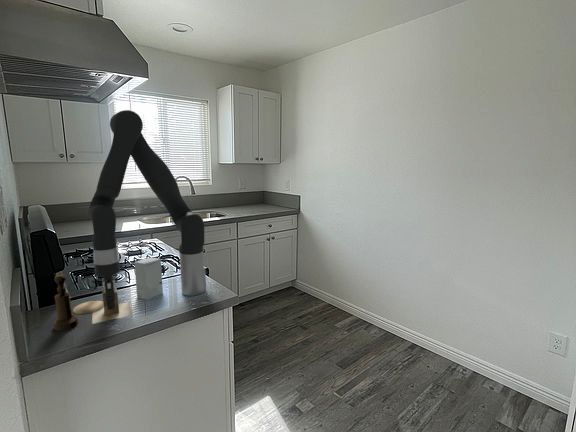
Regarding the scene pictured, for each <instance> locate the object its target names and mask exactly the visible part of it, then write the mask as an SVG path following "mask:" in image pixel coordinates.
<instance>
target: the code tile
mask: <svg viewBox="0 0 576 432" xmlns="http://www.w3.org/2000/svg"><path fill="white" fill-rule="evenodd" d="M118 305H119V313H118V314H113V315H108V316H105V314H104V307H103V308H102V309H100V310H98V311H96V312H93V313H91V314H92V315H91V316H92V318H91V324H92V325H94V324H99V323H102V322H106V321H112V320H116V319H120V318H125V317H129V316H132V314H133V313H132V309H131V305H130V302H129V301H127V302H121V303H118Z"/></svg>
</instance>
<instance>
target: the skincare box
mask: <svg viewBox="0 0 576 432" xmlns="http://www.w3.org/2000/svg"><path fill="white" fill-rule="evenodd" d="M133 263H134V273H135V288H136V297H137V298H138V299H141V300H144V301H147V300H149V299H153V298H155V297H157V296H159V295H162V294H163V293H164V290H163V276H162V275H163V272H162V260H161V258H157V257H148V258H144V259H140V260H137V261H134V262H133Z"/></svg>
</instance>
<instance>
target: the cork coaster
mask: <svg viewBox="0 0 576 432" xmlns="http://www.w3.org/2000/svg"><path fill="white" fill-rule="evenodd" d="M103 307H104V304H103V300H91V301H86V302H82V303H80V304H78V305H76V306H75V307H74V308H73V309H72V313H74V314H76V315H88V314H92V313H93V312H96V311H98V310H100V309H102V308H103Z"/></svg>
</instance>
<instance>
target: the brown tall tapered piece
mask: <svg viewBox="0 0 576 432" xmlns="http://www.w3.org/2000/svg"><path fill="white" fill-rule="evenodd" d="M66 280H67V278H66V275H65V274H63V273H59V274H56V275H55V277H54V282H55V283H56V284H57V288H56V290H57V292H58V293H57V294H55V295H54V300H55V308H56V313H57V314H56V315H57V318H56V320H55V319H54V321H53V328H54V331H56V332H65V331H69V330H72V329H74V328H75V327H77V326H78V324H79V319H78V316H77V315H74V314H73V309H72V303H71V296H70V292H66V286H65V285H64V284H65V282H66Z"/></svg>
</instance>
